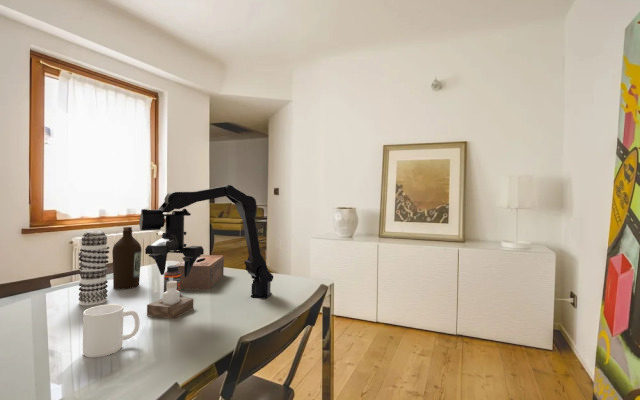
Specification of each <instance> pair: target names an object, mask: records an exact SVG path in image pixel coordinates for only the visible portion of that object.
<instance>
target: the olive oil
mask: <svg viewBox="0 0 640 400" xmlns="http://www.w3.org/2000/svg"><path fill="white" fill-rule="evenodd" d="M122 229H123V230H122V237H121V238H119V239H118V241H116V242H115V243H114V245H113V247H112V272H113V273H112V280H113V284H112V285H113V286H112V287H113V289H116V290H129V289H134V288H136V287H138V286H139V285H140V278H141V277H140V276H141V265H142V264H141V262H142V245H141V243H140V242H139V241H138V240H137V239H136V238H135V237H133V227H132V226H124V227H123V228H122Z"/></svg>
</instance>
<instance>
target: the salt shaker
mask: <svg viewBox="0 0 640 400" xmlns="http://www.w3.org/2000/svg"><path fill="white" fill-rule="evenodd" d="M166 288H167V291H166V292H164V291H163V293H162V298H163V304H169V305H174V304H176V303H178V302H180V297H181V291H180V292H179V291H177V290H176V289H177V281H168V282H166Z"/></svg>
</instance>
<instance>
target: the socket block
mask: <svg viewBox="0 0 640 400" xmlns="http://www.w3.org/2000/svg"><path fill="white" fill-rule="evenodd" d="M192 310H194V298H190V297H183V296H180V302H178V303H176V304H174V305H169V304H163V297H162V298H160V299H157V300H156V301H153V302H151V303H148V304H147V305H146V316H149V317H150V316H151V317H156V316H157V317H158V318H166V319H172V318H173V319H177V318H178V317H181V316H182V315H184V314H186V313H188V312H189V311H192ZM157 317H156V318H157Z"/></svg>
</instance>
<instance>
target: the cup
mask: <svg viewBox="0 0 640 400" xmlns="http://www.w3.org/2000/svg"><path fill="white" fill-rule="evenodd" d="M82 314H83V315H82V317H83V318H82V319H83V320H82V354H83V356H85V357H87V358H89V359H90V358H91V359H94V358H95V359H96V358H103V357H107V355H108V356H110V354H111V355H113V354H115V353H117V352H118V350H119V351H120V350H121V349H122V347H123V342H124V341H125V340H130V339H131V338H133V337H134V336H136V335H137V333H138V332H139V330H140V317H139V314H138V313H137V311H135V310H124V306H123V305H122V304H116V303H115V304H114V303H111V304H109V303H107V304H101V305H100V304H99V305H95V306H93V307H89V308H87V309H85V310H84V311H83V313H82ZM128 316H132V317H133V319H134V328H133V330H132V331H131V332H128V333H127V334H124V318H126V317H128ZM112 353H113V354H112Z"/></svg>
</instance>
